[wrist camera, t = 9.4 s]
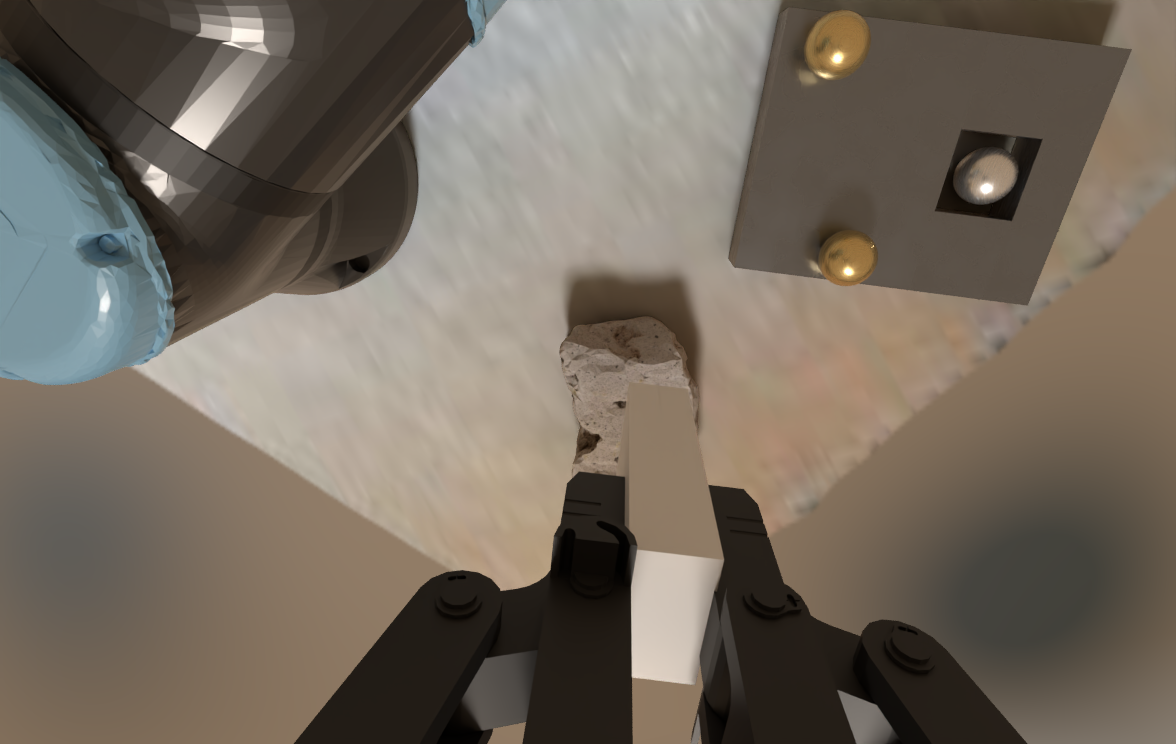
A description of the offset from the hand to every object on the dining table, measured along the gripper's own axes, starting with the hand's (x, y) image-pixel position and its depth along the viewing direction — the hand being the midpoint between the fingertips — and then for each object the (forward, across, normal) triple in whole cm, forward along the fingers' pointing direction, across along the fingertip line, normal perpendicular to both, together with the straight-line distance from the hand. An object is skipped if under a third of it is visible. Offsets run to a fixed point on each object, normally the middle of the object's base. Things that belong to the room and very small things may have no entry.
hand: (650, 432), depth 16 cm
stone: (+27, +1, -11) cm, 29 cm away
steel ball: (+25, +20, +6) cm, 32 cm away
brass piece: (+22, +9, +12) cm, 27 cm away
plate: (+26, +15, +6) cm, 31 cm away
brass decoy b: (+22, +12, +1) cm, 25 cm away
